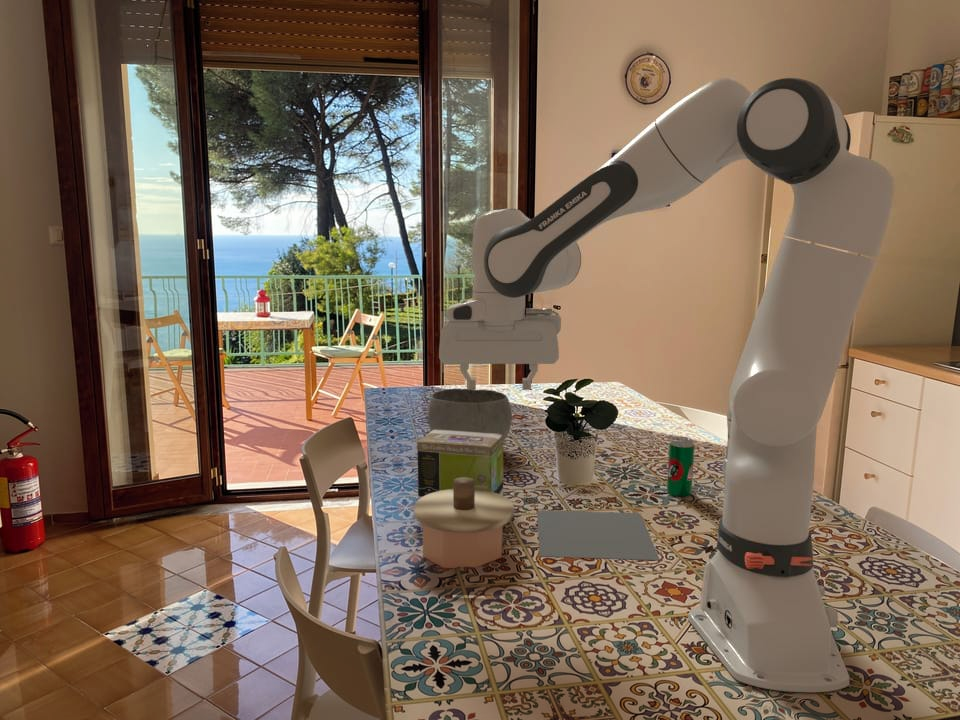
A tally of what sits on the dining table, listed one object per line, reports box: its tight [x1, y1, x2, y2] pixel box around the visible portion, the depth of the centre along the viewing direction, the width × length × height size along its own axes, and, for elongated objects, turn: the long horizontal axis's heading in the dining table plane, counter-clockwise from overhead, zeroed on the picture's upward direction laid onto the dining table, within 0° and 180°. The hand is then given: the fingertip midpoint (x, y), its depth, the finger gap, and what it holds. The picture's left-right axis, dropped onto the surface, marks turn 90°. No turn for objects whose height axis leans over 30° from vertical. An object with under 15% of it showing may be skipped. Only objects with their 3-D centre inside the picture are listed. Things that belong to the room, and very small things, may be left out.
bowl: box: [427, 388, 513, 442], centre depth 174 cm, size 20×20×15 cm
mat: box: [536, 509, 661, 561], centre depth 128 cm, size 20×20×1 cm
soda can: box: [666, 436, 696, 498], centre depth 147 cm, size 5×5×12 cm
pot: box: [422, 524, 504, 569], centre depth 121 cm, size 13×13×7 cm
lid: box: [413, 477, 515, 533], centre depth 120 cm, size 17×17×6 cm
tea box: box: [416, 429, 504, 500], centre depth 139 cm, size 15×10×15 cm, turn 74°
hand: (499, 389), depth 121 cm, fingers open, 8 cm apart
